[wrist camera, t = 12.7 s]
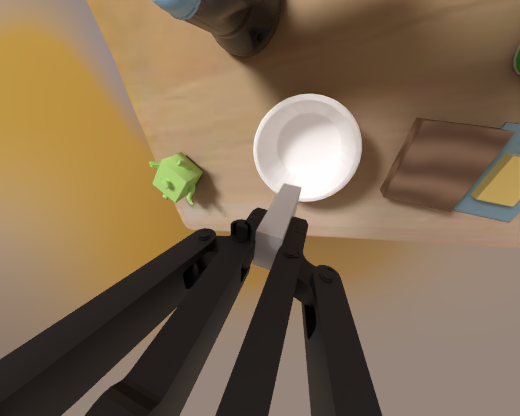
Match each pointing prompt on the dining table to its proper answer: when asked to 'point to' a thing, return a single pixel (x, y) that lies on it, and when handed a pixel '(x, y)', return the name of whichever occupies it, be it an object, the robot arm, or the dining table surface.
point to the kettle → (176, 177)
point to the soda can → (517, 61)
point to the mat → (468, 203)
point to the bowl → (308, 146)
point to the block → (501, 182)
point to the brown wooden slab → (442, 162)
